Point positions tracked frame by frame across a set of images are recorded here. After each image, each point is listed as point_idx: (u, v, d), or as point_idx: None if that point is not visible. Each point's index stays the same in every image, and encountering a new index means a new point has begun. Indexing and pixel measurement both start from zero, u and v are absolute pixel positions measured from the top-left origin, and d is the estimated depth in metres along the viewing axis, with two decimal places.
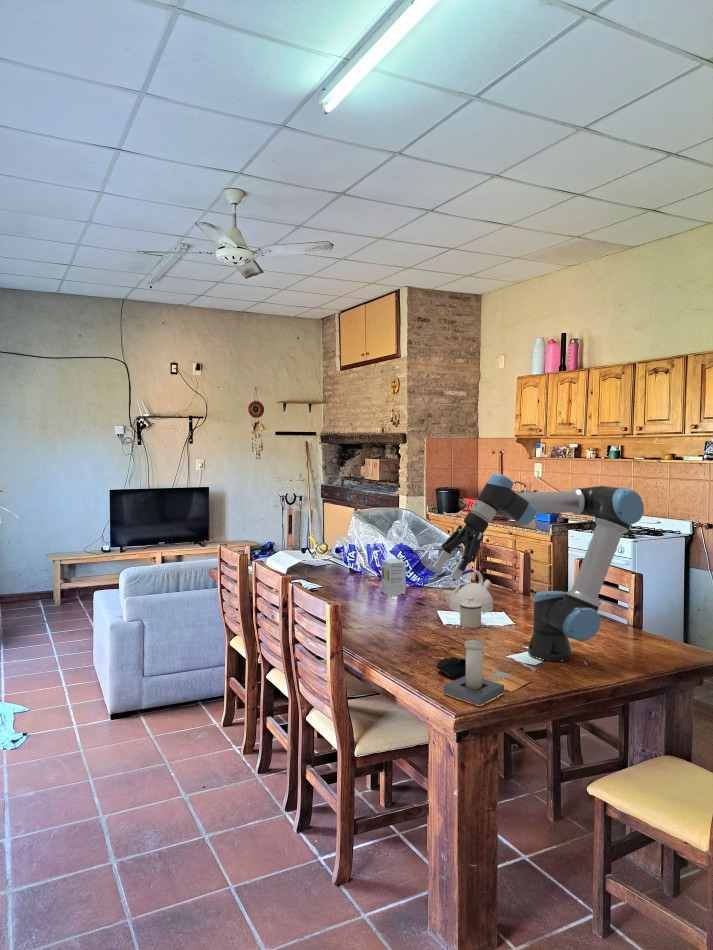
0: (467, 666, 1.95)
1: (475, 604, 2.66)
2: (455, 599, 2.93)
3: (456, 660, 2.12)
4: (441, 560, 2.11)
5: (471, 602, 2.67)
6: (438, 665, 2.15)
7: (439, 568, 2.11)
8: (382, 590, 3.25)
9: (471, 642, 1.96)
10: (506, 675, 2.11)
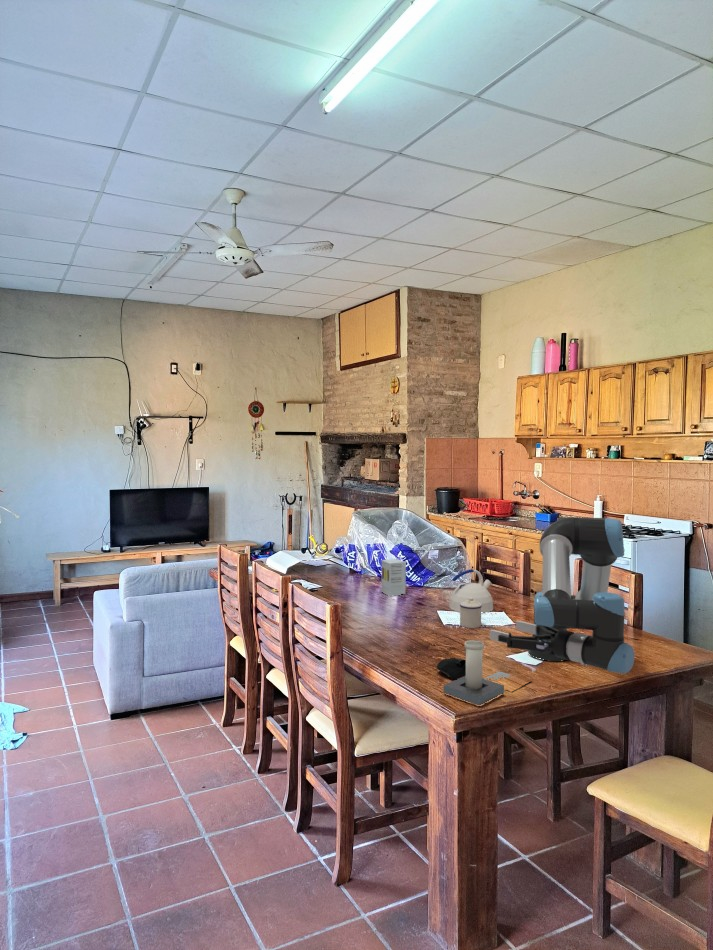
0: (467, 666, 1.95)
1: (475, 604, 2.66)
2: (455, 599, 2.93)
3: (456, 661, 2.11)
4: None
5: (471, 602, 2.67)
6: (438, 666, 2.14)
7: None
8: (382, 590, 3.25)
9: (471, 642, 1.96)
10: (506, 675, 2.11)
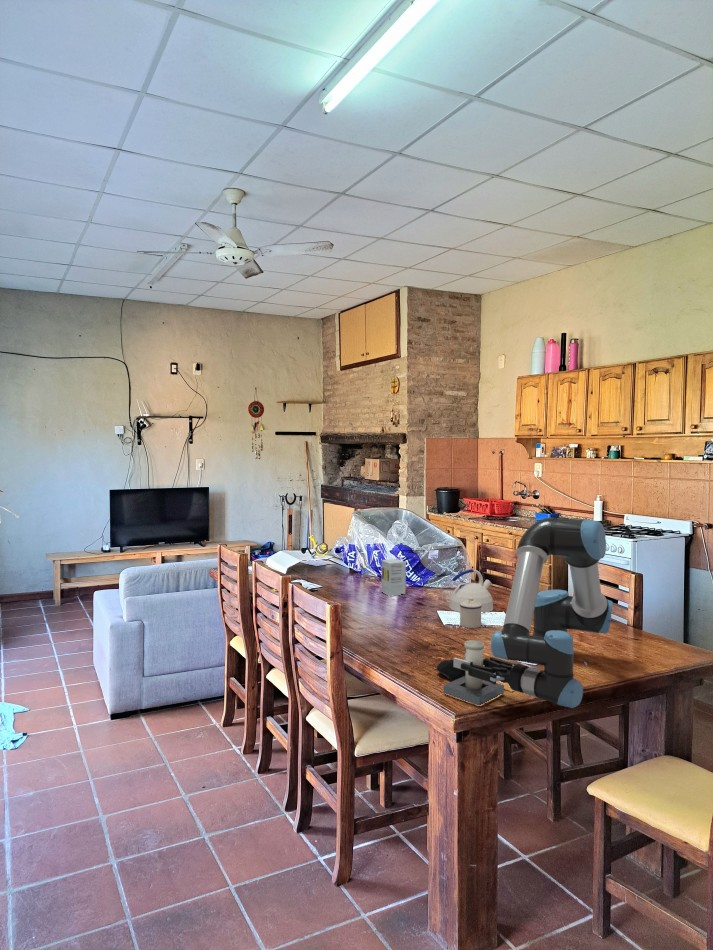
0: None
1: (475, 604, 2.66)
2: (455, 599, 2.93)
3: None
4: None
5: (471, 602, 2.67)
6: (438, 667, 2.12)
7: None
8: (382, 590, 3.25)
9: (471, 642, 1.96)
10: None
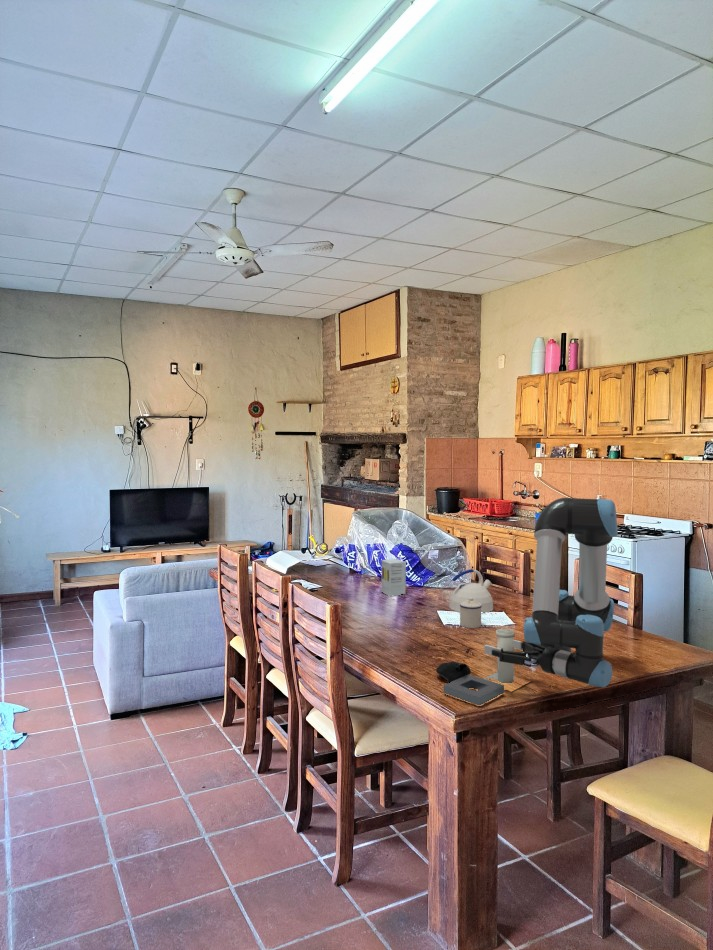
0: None
1: (475, 604, 2.66)
2: (455, 599, 2.93)
3: (455, 665, 2.07)
4: None
5: (471, 602, 2.67)
6: (437, 669, 2.10)
7: None
8: (382, 590, 3.25)
9: (502, 630, 2.07)
10: None
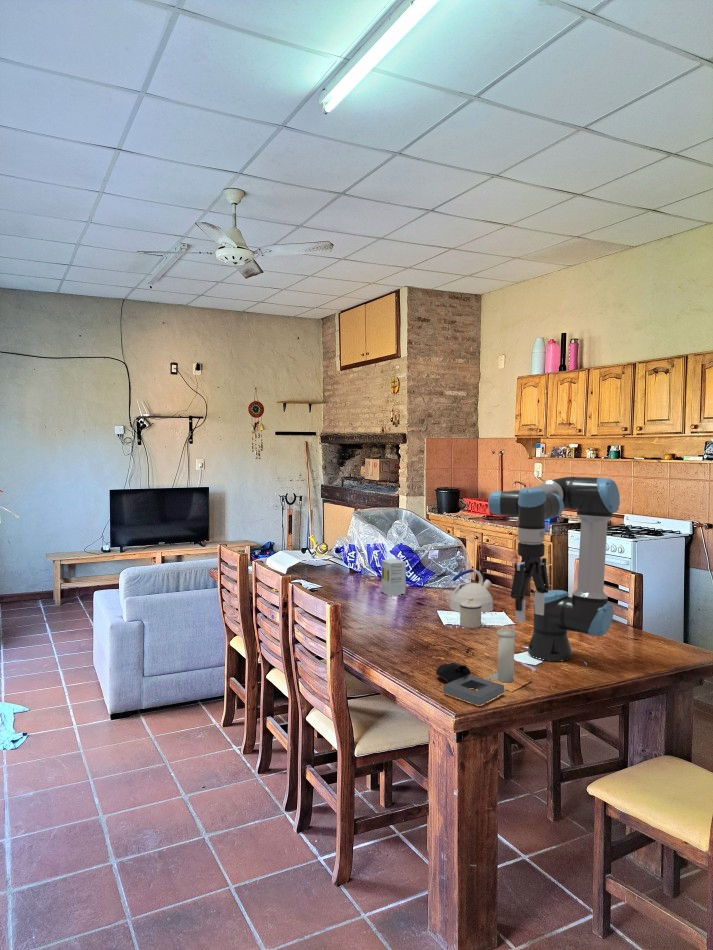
0: (500, 653, 2.05)
1: (475, 604, 2.66)
2: (455, 599, 2.93)
3: (455, 666, 2.06)
4: None
5: (471, 602, 2.67)
6: (437, 671, 2.09)
7: None
8: (382, 590, 3.25)
9: (503, 630, 2.07)
10: None
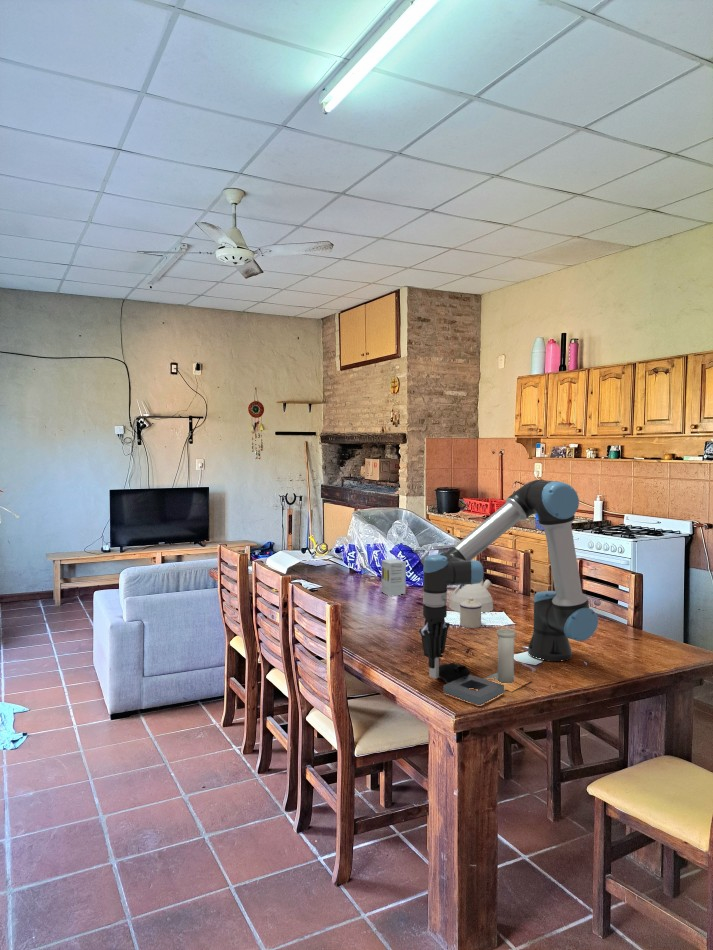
0: (499, 653, 2.05)
1: (475, 604, 2.66)
2: (455, 599, 2.93)
3: (454, 666, 2.06)
4: None
5: (471, 602, 2.67)
6: None
7: None
8: (382, 590, 3.25)
9: (503, 630, 2.07)
10: None
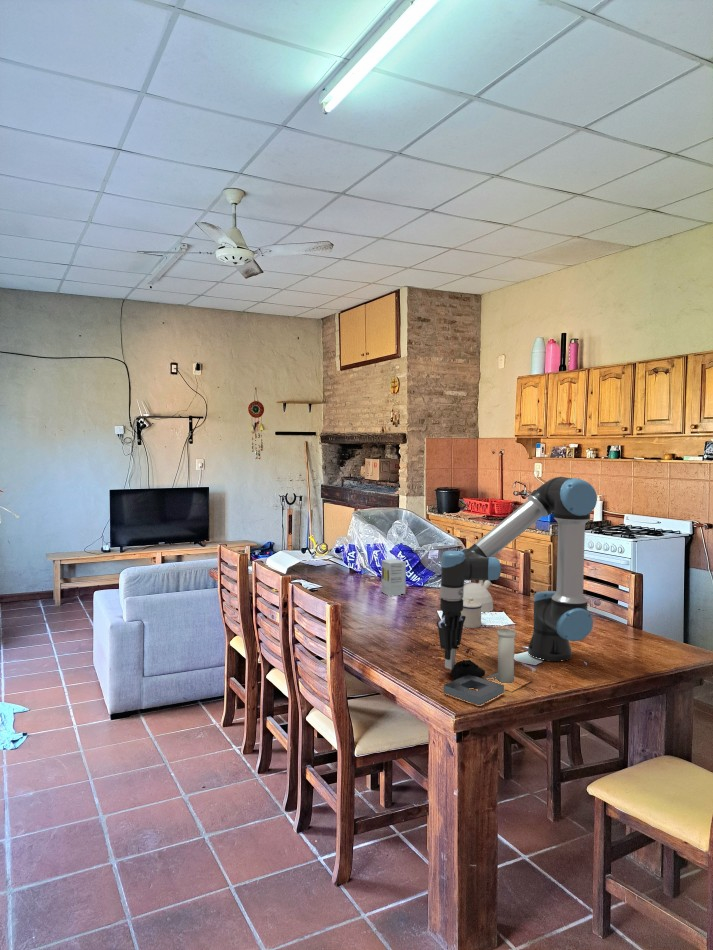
0: (500, 653, 2.05)
1: (475, 604, 2.66)
2: None
3: (463, 662, 2.09)
4: None
5: (471, 602, 2.67)
6: None
7: None
8: (382, 590, 3.25)
9: (503, 630, 2.07)
10: None
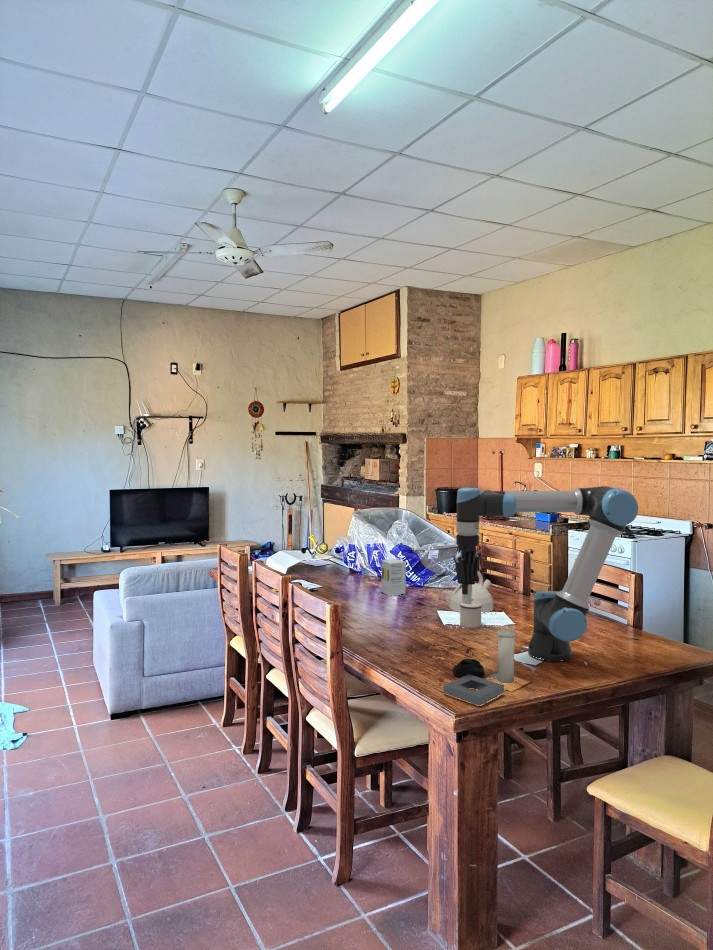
0: (500, 653, 2.05)
1: (475, 604, 2.66)
2: (455, 599, 2.93)
3: (464, 660, 2.12)
4: None
5: None
6: None
7: None
8: (382, 590, 3.25)
9: (503, 630, 2.07)
10: None
